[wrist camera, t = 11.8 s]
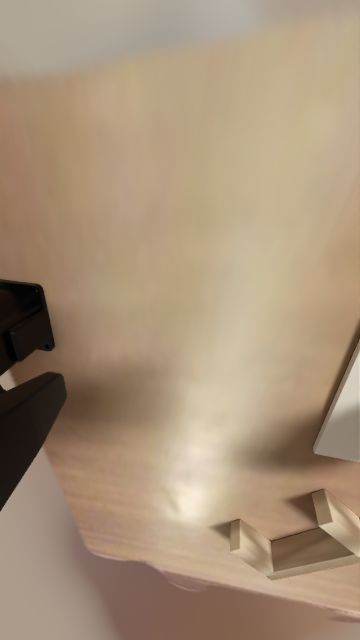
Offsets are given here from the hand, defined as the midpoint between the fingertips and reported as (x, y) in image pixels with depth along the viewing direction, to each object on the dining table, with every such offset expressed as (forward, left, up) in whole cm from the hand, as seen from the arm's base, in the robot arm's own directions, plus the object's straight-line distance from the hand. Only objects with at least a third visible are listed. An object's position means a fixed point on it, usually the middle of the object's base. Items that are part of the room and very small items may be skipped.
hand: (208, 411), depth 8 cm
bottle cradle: (+11, -29, -13) cm, 34 cm away
